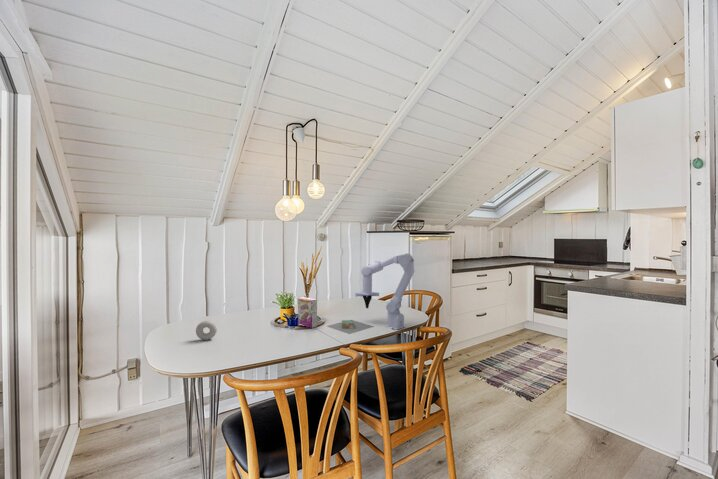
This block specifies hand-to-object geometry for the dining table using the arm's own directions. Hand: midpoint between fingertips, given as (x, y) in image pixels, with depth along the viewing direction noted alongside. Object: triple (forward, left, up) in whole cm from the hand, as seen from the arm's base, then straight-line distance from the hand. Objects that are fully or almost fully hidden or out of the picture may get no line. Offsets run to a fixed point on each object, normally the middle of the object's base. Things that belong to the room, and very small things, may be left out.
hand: (367, 307), depth 204 cm
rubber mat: (+1, +13, -9) cm, 16 cm away
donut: (+36, +82, -10) cm, 90 cm away
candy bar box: (+20, +30, -10) cm, 37 cm away
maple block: (-1, +12, -7) cm, 14 cm away
